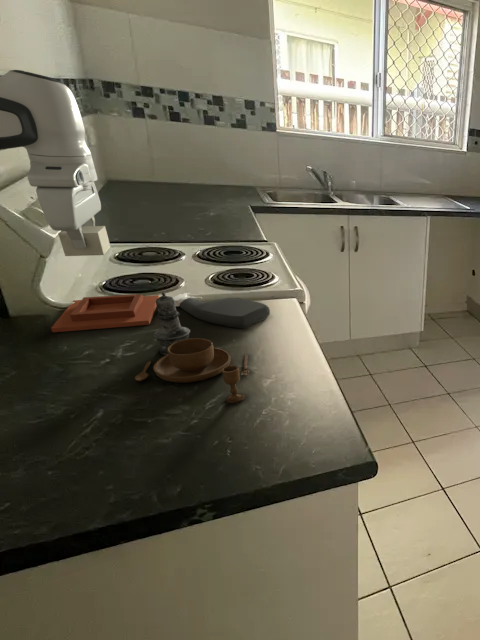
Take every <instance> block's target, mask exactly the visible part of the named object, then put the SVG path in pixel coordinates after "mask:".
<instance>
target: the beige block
mask: <svg viewBox="0 0 480 640" xmlns="http://www.w3.org/2000/svg"><path fill="white" fill-rule="evenodd" d="M81 228H82V231H81V232H82V234H83V237H84V238H85V239H86V243H87V246H86V247H85V248H84V249H76V248H74V247H73V244H72V241H71V239H70V238H69V236H68V235H67V233H66V231H59V232H58V233H57V235H58V238H59V241H60V244H61V248H62V251H63V254H64V256H65V257H84V256H85V257H86V256H104V255H105V254H106V253H107V252H108V251H109V250H110V248H111V244H110V243H111V242H110V239H109V236H108V232H107V228H106V225H95V226H81Z"/></svg>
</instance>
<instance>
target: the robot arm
mask: <svg viewBox="0 0 480 640" xmlns="http://www.w3.org/2000/svg"><path fill="white" fill-rule="evenodd" d="M85 133H86V128H85V125H84V121H83V117H82V114H81V111H80V108H79V105H78V102H77V100H76V98H75V96H74V93H73V91H72V90H71V89H70V88H69V87H68V86H67V85H66V84H65V83H64V82H62V81H60V80H59V79H57V78H54V77H51V76H46V75H43V74H40V73H39V74H38V73H35V72H34V73H33V72H29V71H24V70H21V69H13V70H12V69H11V70H8V71H7V72H6V73H5V74H3V75H1V76H0V152H1V151H5V150H7V149H8V150H9V149H17V148H24V149H25V150H26V152H27V156H28V158H29V165H30V167H29V170H28V172H27V175H26V176H27V180H28V184H29V185H30V186H31V187H34V188H35V187H36V189H35V192H36V197H37V200H38V203H39V205H40V208H41V210H42V213H43V215H44V218H45V220H46V222H47V224H48V226H49V227H50V228H51V229H52V230H53V231H55V232H58V231H59V232H61V231H66V233H67V235H68V236H69V238H70V239H71V241H72V244H73V247H74V248H76V249H84V248H85V247H86V246H87V243H86V239H85V238H84V237H83V234H82V232H81V231H82V228H81V226H96V219H95V216H96V215H97V214H98V213H99V212H101V210H102V204H101V203H102V202H101V199H100V196H99V192H98V189H97V187H96V184H95V182H97V181H98V180H99V179H98V175H97V171H96V167H95V163H94V160H93V156H92V151H91V150H90V148H89V147H88V145H87V141H86V139H85V138H86V137H85V136H86V135H85Z"/></svg>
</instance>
